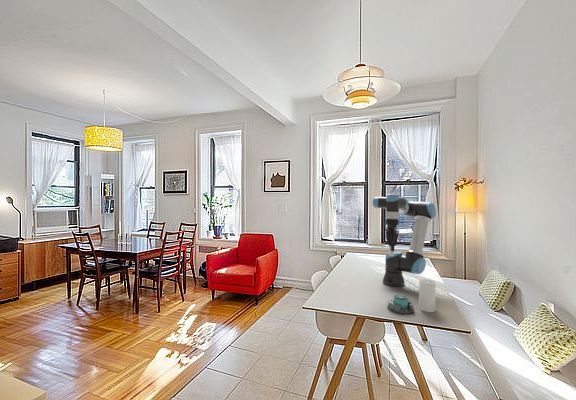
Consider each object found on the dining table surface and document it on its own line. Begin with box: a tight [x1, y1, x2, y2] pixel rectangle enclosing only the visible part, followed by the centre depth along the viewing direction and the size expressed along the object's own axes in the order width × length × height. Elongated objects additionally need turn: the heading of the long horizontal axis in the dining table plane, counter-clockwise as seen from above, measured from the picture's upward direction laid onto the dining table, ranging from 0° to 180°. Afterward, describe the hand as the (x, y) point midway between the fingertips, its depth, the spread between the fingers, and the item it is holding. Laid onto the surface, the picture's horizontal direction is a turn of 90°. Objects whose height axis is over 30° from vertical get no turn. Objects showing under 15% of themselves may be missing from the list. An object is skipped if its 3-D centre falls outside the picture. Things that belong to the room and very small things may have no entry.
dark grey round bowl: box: [387, 298, 415, 315], centre depth 162 cm, size 14×14×4 cm
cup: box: [418, 278, 437, 313], centre depth 162 cm, size 8×8×16 cm
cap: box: [392, 294, 409, 310], centre depth 162 cm, size 8×8×6 cm
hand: (391, 255), depth 180 cm, fingers closed
